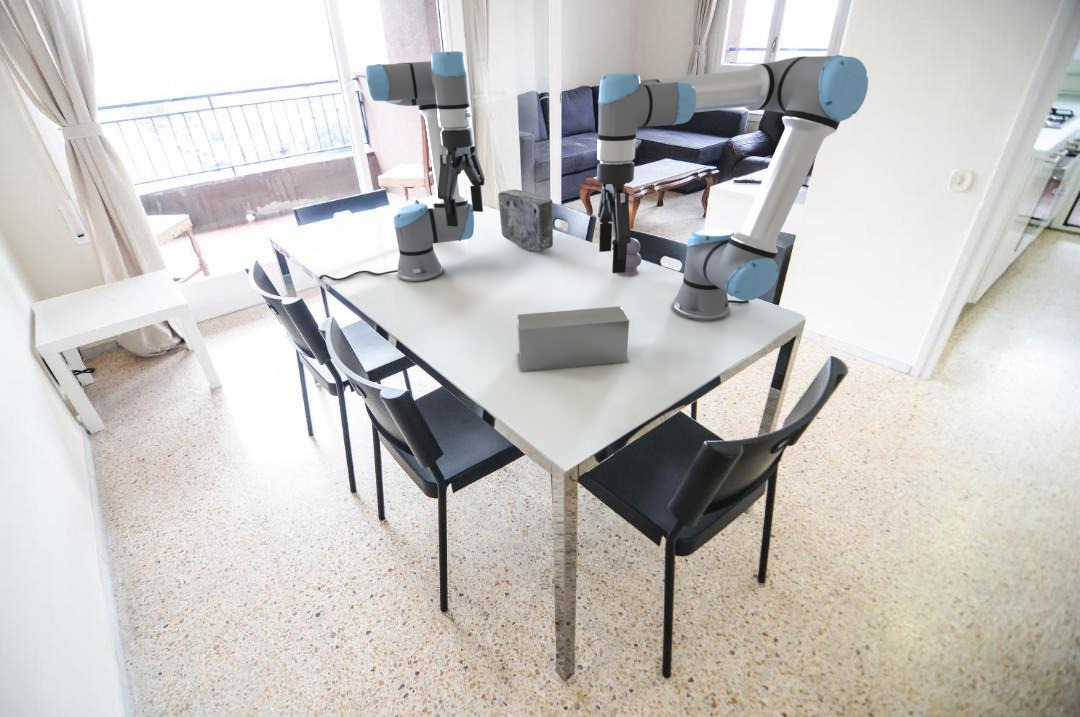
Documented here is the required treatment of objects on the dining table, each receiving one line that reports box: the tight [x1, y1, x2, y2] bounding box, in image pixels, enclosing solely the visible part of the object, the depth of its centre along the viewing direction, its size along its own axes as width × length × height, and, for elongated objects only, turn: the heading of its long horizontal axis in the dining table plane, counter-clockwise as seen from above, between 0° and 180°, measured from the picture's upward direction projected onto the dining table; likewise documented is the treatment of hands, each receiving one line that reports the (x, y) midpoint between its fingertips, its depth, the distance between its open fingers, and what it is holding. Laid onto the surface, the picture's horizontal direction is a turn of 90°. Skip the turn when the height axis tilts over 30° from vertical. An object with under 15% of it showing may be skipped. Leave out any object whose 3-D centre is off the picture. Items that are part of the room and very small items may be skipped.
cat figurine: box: [618, 237, 642, 277], centre depth 167 cm, size 9×8×12 cm
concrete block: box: [497, 189, 554, 252], centre depth 191 cm, size 27×9×20 cm, turn 36°
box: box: [516, 305, 630, 372], centre depth 121 cm, size 26×8×11 cm, turn 96°
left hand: (465, 218), depth 128 cm, fingers open, 13 cm apart
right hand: (611, 261), depth 112 cm, fingers open, 13 cm apart
